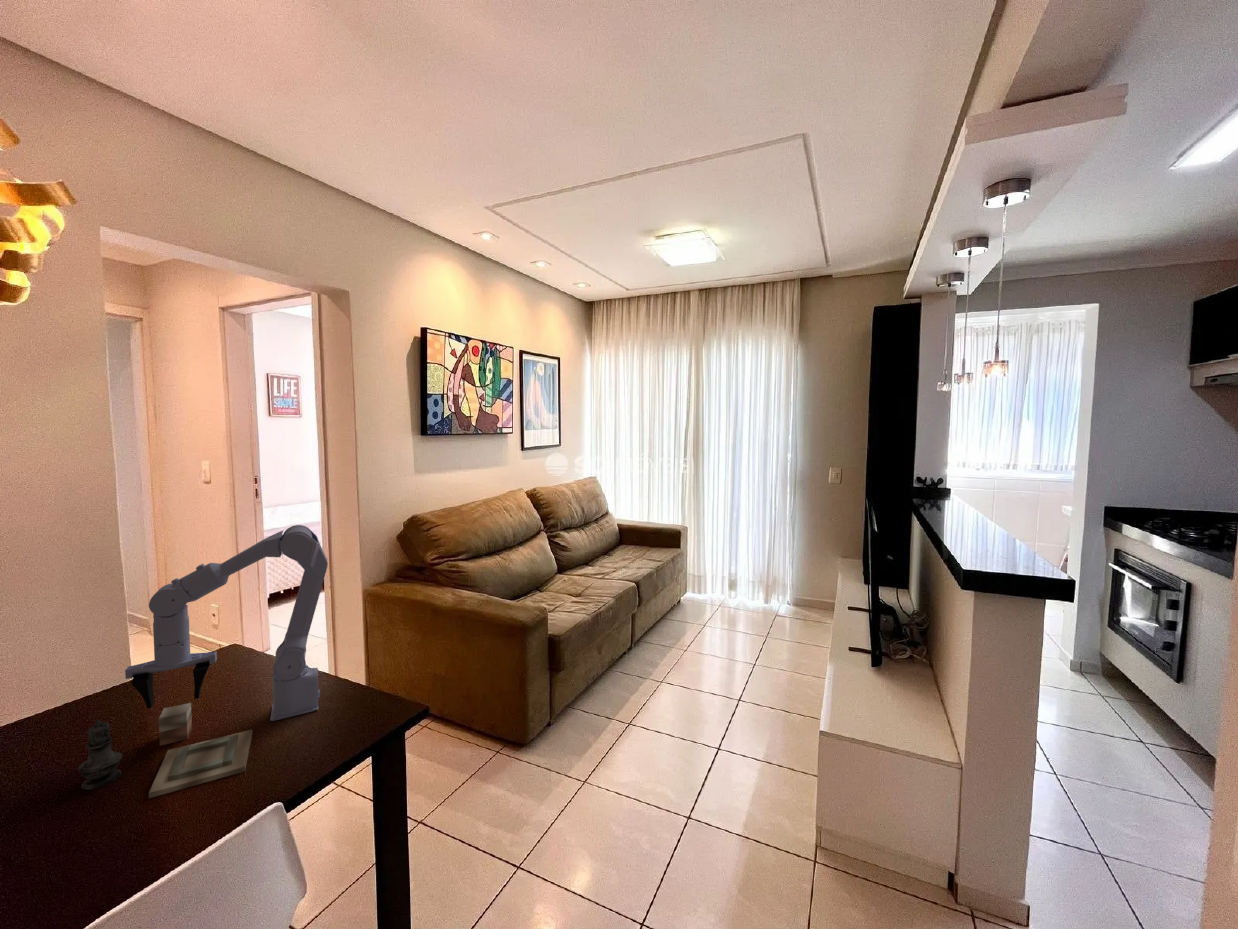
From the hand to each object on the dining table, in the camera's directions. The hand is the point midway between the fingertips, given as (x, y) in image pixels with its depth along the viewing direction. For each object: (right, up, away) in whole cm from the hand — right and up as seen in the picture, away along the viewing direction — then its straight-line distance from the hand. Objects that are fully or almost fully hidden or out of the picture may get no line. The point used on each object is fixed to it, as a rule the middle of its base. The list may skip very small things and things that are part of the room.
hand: (174, 701), depth 106 cm
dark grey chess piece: (-2, -9, -13) cm, 16 cm away
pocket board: (+13, -9, -8) cm, 18 cm away
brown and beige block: (0, -8, +1) cm, 8 cm away
